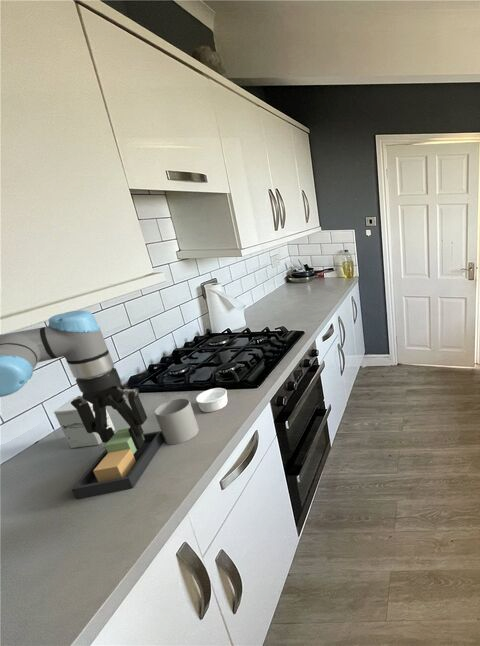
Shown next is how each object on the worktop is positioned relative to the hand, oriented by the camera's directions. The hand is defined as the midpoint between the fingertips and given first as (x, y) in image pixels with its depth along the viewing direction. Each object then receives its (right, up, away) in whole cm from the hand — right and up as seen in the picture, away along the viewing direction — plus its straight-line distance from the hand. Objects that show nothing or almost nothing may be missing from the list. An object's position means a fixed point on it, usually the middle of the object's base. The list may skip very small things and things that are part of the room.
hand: (128, 448), depth 94 cm
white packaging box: (-18, -1, +9) cm, 20 cm away
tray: (+1, -4, -2) cm, 5 cm away
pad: (0, 0, 0) cm, 0 cm away
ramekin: (+9, +6, +23) cm, 26 cm away
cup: (+8, 0, +10) cm, 12 cm away
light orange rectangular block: (+2, -5, -5) cm, 7 cm away
